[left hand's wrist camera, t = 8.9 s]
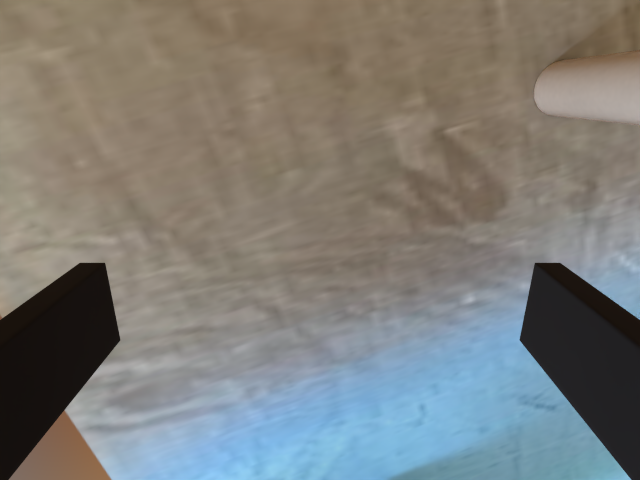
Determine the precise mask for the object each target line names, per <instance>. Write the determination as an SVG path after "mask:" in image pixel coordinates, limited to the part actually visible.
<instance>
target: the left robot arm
mask: <svg viewBox="0 0 640 480" xmlns="http://www.w3.org/2000/svg"><path fill="white" fill-rule="evenodd" d="M119 341H120V336H119V331H118V326H117V321H116V316H115V311H114V306H113V301H112V296H111V290H110V285H109V280H108V275H107V270H106V265H105V263H79V264H78V265H76V266H75V267H74V268H72V269H71V270H69V271H68V272H67V273H65V274H64V275H62V276H61V277H60V278H58V279H57V280H55V281H54V282H53V283H51V284H50V285H49V286H47V287H46V288H44V289H43V290H42V291H40V292H39V293H37V294H36V295H35V296H33V297H32V298H30V299H29V300H28V301H26V302H25V303H23V304H22V305H21V306H19V307H18V308H16V309H15V310H14V311H12V312H11V313H9V314H8V315H7V316H5V317H4V318H2V319H1V320H0V480H9V478H10V477H11V476H12V475H13V473H14V472H15V471H16V470H17V468H18V467H19V466H20V465H21V463H22V462H23V461H24V460H25V458H26V457H27V456H28V455H29V453H30V452H31V451H32V450H33V448H34V447H35V446H36V445H37V443H38V442H39V441H40V440H41V438H42V437H43V436H44V435H45V433H46V432H47V431H48V430H49V428H50V427H51V426H52V425H53V423H54V422H55V421H56V420H57V418H58V417H59V416H60V415H61V413H62V412H63V411H64V410H65V408H66V407H67V406H68V405H69V404H70V402H71V401H72V400H73V399H74V397H75V396H76V395H77V394H78V392H79V391H80V390H81V389H82V387H83V386H84V385H85V384H86V382H87V381H88V380H89V379H90V377H91V376H92V375H93V374H94V372H95V371H96V370H97V369H98V367H99V366H100V365H101V364H102V362H103V361H104V360H105V359H106V357H107V356H108V355H109V354H110V352H111V351H112V350H113V349H114V347H115V346H116V345H117V344H118V342H119ZM520 341H521V342H522V344H523V345H524V346H525V347H526V349H527V350H528V351H529V352H530V354H531V355H532V356H533V357H534V359H535V360H536V361H537V362H538V364H539V365H540V366H541V367H542V369H543V370H544V371H545V372H546V374H547V375H548V376H549V377H550V379H551V380H552V381H553V382H554V384H555V385H556V386H557V387H558V389H559V390H560V391H561V392H562V394H563V395H564V396H565V397H566V399H567V400H568V401H569V402H570V404H571V405H572V406H573V407H574V408H575V410H576V411H577V412H578V413H579V415H580V416H581V417H582V418H583V420H584V421H585V422H586V423H587V425H588V426H589V427H590V428H591V430H592V431H593V432H594V433H595V435H596V436H597V437H598V438H599V440H600V441H601V442H602V443H603V445H604V446H605V447H606V448H607V450H608V451H609V452H610V453H611V455H612V456H613V457H614V458H615V460H616V461H617V462H618V463H619V465H620V466H621V467H622V468H623V470H624V471H625V472H626V473H627V475H628V476H629V477H630V478H631V480H640V320H639V319H638V318H636V317H635V316H633V315H632V314H631V313H629V312H628V311H626V310H625V309H624V308H622V307H621V306H619V305H618V304H617V303H615V302H614V301H612V300H611V299H610V298H608V297H607V296H605V295H604V294H603V293H601V292H600V291H598V290H597V289H596V288H594V287H593V286H591V285H590V284H589V283H587V282H586V281H585V280H583V279H582V278H580V277H579V276H578V275H576V274H575V273H573V272H572V271H571V270H569V269H568V268H566V267H565V266H564V265H562V264H561V263H535V265H534V270H533V275H532V280H531V285H530V290H529V296H528V301H527V306H526V311H525V316H524V321H523V326H522V331H521V336H520Z"/></svg>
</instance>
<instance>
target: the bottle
mask: <svg viewBox="0 0 640 480" xmlns="http://www.w3.org/2000/svg"><path fill="white" fill-rule="evenodd" d="M534 99H535V102H536V105H537V106H538V108H539V109H540V110H541V111H542V112H543V113H545V114H547V115H550V116H557V117H567V118H576V119H585V120H595V121H604V122H613V123H623V124H632V125H640V50H637V51H629V52H621V53H613V54H606V55H598V56H590V57H582V58H574V59H567V60H560V61H557V62H555V63H552V64H551V65H549V66H548V67H547V68H546V69H545V70H544V71H543V72H542V73H541V74H540V76H539V77H538V79H537V81H536V84H535V88H534Z"/></svg>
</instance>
